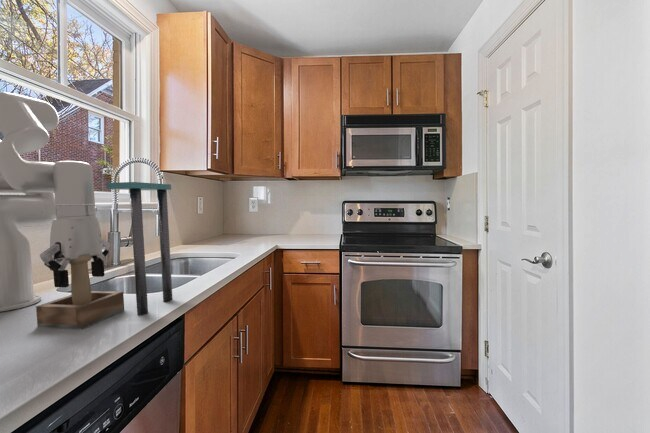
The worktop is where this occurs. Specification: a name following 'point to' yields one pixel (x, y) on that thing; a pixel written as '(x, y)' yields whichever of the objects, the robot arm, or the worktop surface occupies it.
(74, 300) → the handle
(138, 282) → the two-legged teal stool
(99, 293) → the socket
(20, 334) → the worktop surface
